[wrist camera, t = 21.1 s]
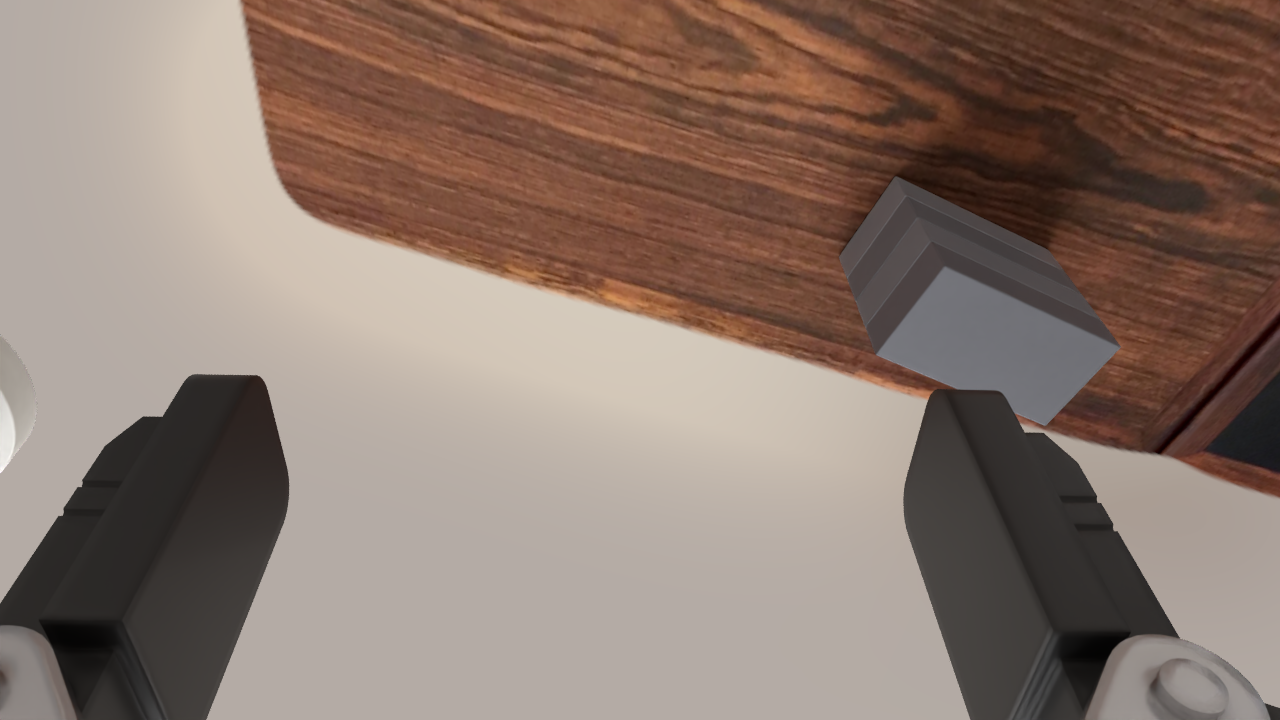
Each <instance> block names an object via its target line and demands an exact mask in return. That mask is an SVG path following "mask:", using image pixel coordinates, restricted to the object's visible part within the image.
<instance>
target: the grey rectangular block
mask: <svg viewBox="0 0 1280 720" xmlns="http://www.w3.org/2000/svg"><path fill="white" fill-rule="evenodd" d="M839 259H840V262H841V264H842V267H843V270H844V272H845V275H846V277H847V280H848V282H849V285H850V288H851V290H852V293H853V296H854V298H855V301H856V304H857V306H858V309H859V312H860V314H861V317H862V320H863V322H864V325H865V327H866V330H867V333H868V336H869V338H870V341H871V343H872V346H873V349H874V351H875V354H876V355H877V356H880V357H882V358H884V359H887V360H889V361H892V362H894V363H896V364H899V365H901V366H904V367H906V368H908V369H911V370H913V371H916V372H918V373H920V374H923V375H925V376H927V377H930V378H932V379H935V380H937V381H939V382H942V383H944V384H947V385H949V386H951V387H954V388H956V389H959V390H997V391H1000V392H1001V393H1002V394H1003V395H1004V396H1005V397H1006V399H1007V401H1008V402H1009V404H1010V406H1011V408H1012V410H1013V412H1014V413H1016V414H1018V415H1021V416H1023V417H1025V418H1028V419H1030V420H1033V421H1035V422H1037V423H1040V424H1042V425H1047V424H1048V423H1049V422H1050V421H1051V419H1052V418H1053V417H1054V416H1055V415H1056V414H1057V413H1058V412H1059V411H1060V410H1061V409H1062V408H1063V407H1064V406H1065V405H1066V404H1067V403H1068V402H1069V401H1070V400H1071V399H1072V398H1073V397H1074V396H1075V394H1076V393H1077V392H1078V391H1079V390H1080V389H1081V388H1082V387H1083V386H1084V385H1085V384H1086V383H1087V382H1088V381H1089V380H1090V379H1091V378H1092V377H1093V376H1094V375H1095V374H1096V373H1097V372H1098V371H1099V369H1100V368H1101V367H1102V366H1103V365H1104V364H1105V363H1106V362H1107V361H1108V360H1109V359H1110V358H1111V357H1112V356H1113V355H1114V354H1115V353H1116V352H1117V351H1118V350H1119V349H1120V345H1119V344H1118V342H1117V341H1116V340H1115V338H1114V337H1113V336H1112V334H1111V333H1110V332H1109V330H1108V329H1107V328H1106V326H1105V325H1104V324H1103V322H1102V321H1101V320H1100V318H1099V317H1098V316H1097V314H1096V313H1095V312H1094V310H1093V309H1092V308H1091V306H1090V305H1089V304H1088V302H1087V301H1086V300H1085V298H1084V297H1083V296H1082V295H1081V293H1080V292H1079V290H1078V289H1077V288H1076V286H1075V285H1074V284H1073V282H1072V281H1071V280H1070V278H1069V277H1068V276H1067V274H1066V273H1065V272H1064V270H1063V269H1062V267H1061V266H1060V265H1059V263H1058V262H1057V261H1056V259H1055V258H1054V257H1053V255H1052V254H1051V253H1050V251H1049V250H1048V249H1046V248H1043V247H1041V246H1039V245H1037V244H1035V243H1033V242H1031V241H1029V240H1027V239H1025V238H1023V237H1021V236H1019V235H1017V234H1015V233H1013V232H1010V231H1008V230H1006V229H1004V228H1002V227H1000V226H998V225H996V224H994V223H992V222H990V221H988V220H986V219H984V218H982V217H979V216H977V215H975V214H973V213H971V212H969V211H967V210H965V209H963V208H961V207H959V206H957V205H955V204H953V203H951V202H949V201H946V200H944V199H942V198H940V197H938V196H936V195H934V194H932V193H930V192H928V191H926V190H924V189H922V188H920V187H918V186H916V185H913V184H911V183H909V182H907V181H905V180H903V179H901V178H899V177H897V176H895V177H894V179H893V180H892V181H891V183H890V184H889V186H888V187H887V189H886V190H885V191H884V193H883V194H882V196H881V197H880V199H879V200H878V201H877V203H876V204H875V206H874V207H873V209H872V210H871V211H870V213H869V214H868V216H867V217H866V219H865V220H864V221H863V223H862V224H861V226H860V227H859V229H858V230H857V231H856V233H855V234H854V236H853V237H852V239H851V240H850V241H849V243H848V244H847V246H846V247H845V249H844V250H843V251H842V253H841V254H840V256H839Z"/></svg>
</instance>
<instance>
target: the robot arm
mask: <svg viewBox="0 0 1280 720" xmlns="http://www.w3.org/2000/svg"><path fill="white" fill-rule="evenodd" d="M82 481H83V485H82V487H78V488H77V489H76V491H75V492H74V494H73V495H72V497H71V498H70V500H69V501H68V503H67V504H66V506H65V507H64V514H63V516H58V518H57V519H56V521H55V522H54V524H53V525H52V527H51V528H50V530H49V531H48V533H47V534H46V536H45V537H44V539H43V540H42V542H41V543H40V545H39V546H38V548H37V549H36V551H35V552H34V554H33V555H32V557H31V558H30V560H29V561H28V563H27V564H26V566H25V567H24V569H23V570H22V572H21V573H20V575H19V576H18V578H17V579H16V581H15V582H14V584H13V585H12V587H11V588H10V590H9V591H8V593H7V594H6V596H5V597H4V599H3V600H2V602H1V603H0V720H206V719H207V716H208V714H209V711H210V708H211V706H212V703H213V701H214V698H215V696H216V693H217V691H218V688H219V686H220V683H221V681H222V678H223V676H224V673H225V670H226V668H227V665H228V663H229V660H230V658H231V655H232V653H233V650H234V647H235V645H236V643H237V640H238V638H239V635H240V632H241V630H242V627H243V625H244V622H245V620H246V617H247V615H248V612H249V610H250V607H251V605H252V602H253V599H254V597H255V594H256V591H257V589H258V587H259V584H260V582H261V579H262V577H263V574H264V572H265V569H266V566H267V564H268V561H269V559H270V556H271V554H272V551H273V548H274V546H275V543H276V541H277V539H278V536H279V533H280V530H281V528H282V526H283V523H284V520H285V517H286V512H287V507H288V500H289V477H288V471H287V466H286V462H285V458H284V454H283V450H282V446H281V442H280V438H279V434H278V430H277V426H276V422H275V418H274V414H273V410H272V406H271V402H270V398H269V394H268V390H267V387H266V385H265V382H264V381H263V379H262V378H261V377H260V376H257V375H202V374H195V375H191V376H189V377H188V378H187V379H186V380H185V381H184V383H183V385H182V386H181V388H180V389H179V391H178V392H177V394H176V396H175V398H174V399H173V401H172V402H171V404H170V406H169V407H168V409H167V410H166V412H165V414H164V415H163V417H142V418H141V419H139V420H138V421H137V422H135V423H134V424H133V425H132V426H130V427H129V428H128V429H126V430H125V431H124V432H123V433H121V434H120V435H119V436H117V437H116V438H115V439H113V440H112V441H111V442H110V443H108V444H107V445H106V446H105V447H104V449H103V450H102V451H101V453H100V454H99V456H98V457H97V459H96V461H95V462H94V463H93V465H92V467H91V468H90V469H89V471H88V473H87V474H86V476H85V477H84V478H83V480H82ZM904 517H905V524H906V529H907V532H908V535H909V538H910V541H911V544H912V547H913V550H914V553H915V556H916V559H917V562H918V565H919V568H920V571H921V574H922V577H923V580H924V583H925V586H926V589H927V592H928V594H929V598H930V601H931V604H932V607H933V610H934V613H935V616H936V619H937V622H938V624H939V628H940V630H941V633H942V636H943V639H944V642H945V645H946V648H947V651H948V654H949V657H950V660H951V663H952V666H953V669H954V672H955V675H956V678H957V681H958V684H959V687H960V690H961V693H962V696H963V699H964V701H965V705H966V708H967V711H968V713H969V716H970V719H971V720H1280V708H1278V707H1274V706H1271V705H1268V704H1265V703H1264V702H1263V701H1262V699H1261V697H1260V695H1259V694H1258V692H1257V691H1256V690H1255V689H1254V688H1253V686H1252V685H1251V683H1250V682H1249V681H1248V680H1247V679H1246V678H1245V677H1244V676H1243V675H1242V674H1241V673H1240V672H1239V671H1238V670H1236V669H1235V668H1234V667H1233V666H1231V665H1230V664H1229V663H1228V662H1226V661H1225V660H1223V659H1222V658H1220V657H1219V656H1217V655H1216V654H1214V653H1212V652H1211V651H1209V650H1206V649H1205V648H1203V647H1201V646H1199V645H1196V644H1194V643H1192V642H1189V641H1186V640H1183V639H1180V637H1179V636H1178V634H1177V633H1176V631H1175V629H1174V628H1173V626H1172V624H1171V622H1170V621H1169V619H1168V617H1167V616H1166V614H1165V612H1164V610H1163V609H1162V607H1161V605H1160V603H1159V602H1158V600H1157V598H1156V597H1155V595H1154V593H1153V592H1152V590H1151V588H1150V586H1149V585H1148V583H1147V581H1146V579H1145V578H1144V576H1143V575H1142V573H1141V571H1140V569H1139V567H1138V566H1137V564H1136V562H1135V561H1134V559H1133V557H1132V556H1131V554H1130V552H1129V550H1128V549H1127V547H1126V545H1125V544H1124V542H1123V540H1122V538H1121V536H1120V535H1119V533H1118V532H1117V531H1116V532H1115V531H1113V523H1112V521H1111V520H1110V518H1109V516H1108V514H1107V513H1106V511H1105V509H1104V507H1103V506H1102V504H1101V503H1097V495H1096V494H1095V492H1094V490H1093V488H1092V487H1091V485H1090V483H1089V481H1088V480H1087V478H1086V476H1085V475H1084V473H1083V471H1082V469H1081V468H1080V466H1079V464H1078V463H1077V462H1076V461H1075V460H1074V459H1073V458H1071V456H1069V455H1068V454H1067V453H1066V452H1065V451H1063V450H1062V449H1061V448H1060V447H1059V446H1058V445H1057V444H1055V443H1054V442H1053V441H1052V440H1051V439H1050V438H1049V437H1047V436H1046V435H1045V434H1044V433H1025V432H1024V430H1023V429H1022V427H1021V425H1020V423H1019V421H1018V419H1017V417H1016V416H1015V414H1014V412H1013V410H1012V408H1011V406H1010V404H1009V402H1008V401H1007V399H1006V397H1005V396H1004V395H1003V394H1002V393H1001V392H1000V391H997V390H950V389H937V390H935V391H934V392H933V393H932V394H931V395H930V397H929V400H928V402H927V405H926V409H925V413H924V416H923V420H922V424H921V428H920V431H919V434H918V438H917V442H916V445H915V449H914V452H913V456H912V460H911V463H910V467H909V470H908V474H907V478H906V482H905V488H904Z"/></svg>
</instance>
